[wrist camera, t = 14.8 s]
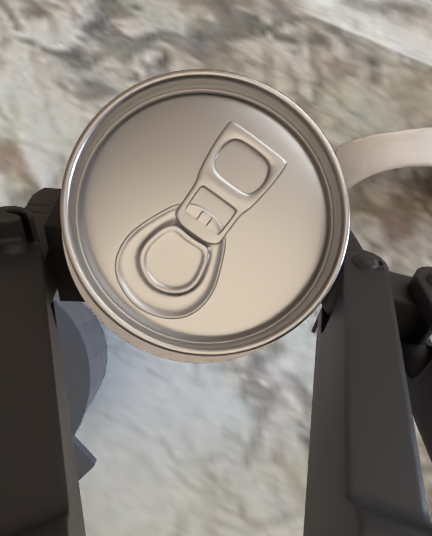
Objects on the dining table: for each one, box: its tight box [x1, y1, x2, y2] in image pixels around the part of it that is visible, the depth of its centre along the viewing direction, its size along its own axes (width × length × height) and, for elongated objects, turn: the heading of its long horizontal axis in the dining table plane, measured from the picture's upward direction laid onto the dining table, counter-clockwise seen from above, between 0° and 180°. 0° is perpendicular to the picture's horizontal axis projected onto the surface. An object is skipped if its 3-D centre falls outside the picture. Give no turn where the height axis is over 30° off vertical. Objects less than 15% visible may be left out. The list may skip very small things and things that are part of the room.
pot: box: [54, 290, 107, 481], centre depth 28 cm, size 13×18×10 cm
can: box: [60, 69, 350, 363], centre depth 13 cm, size 6×6×12 cm
